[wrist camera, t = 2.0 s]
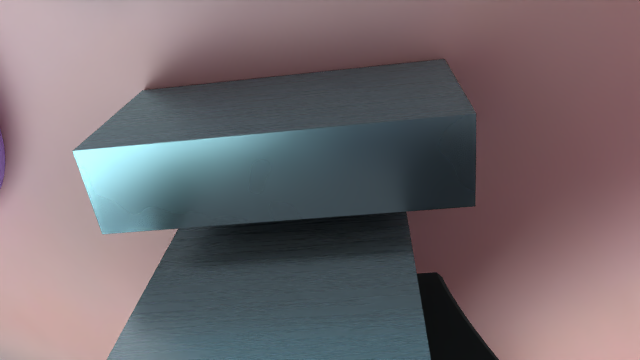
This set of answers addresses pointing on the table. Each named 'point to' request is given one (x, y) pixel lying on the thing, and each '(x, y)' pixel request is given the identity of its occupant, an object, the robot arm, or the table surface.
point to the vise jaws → (284, 149)
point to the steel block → (283, 294)
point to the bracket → (2, 159)
